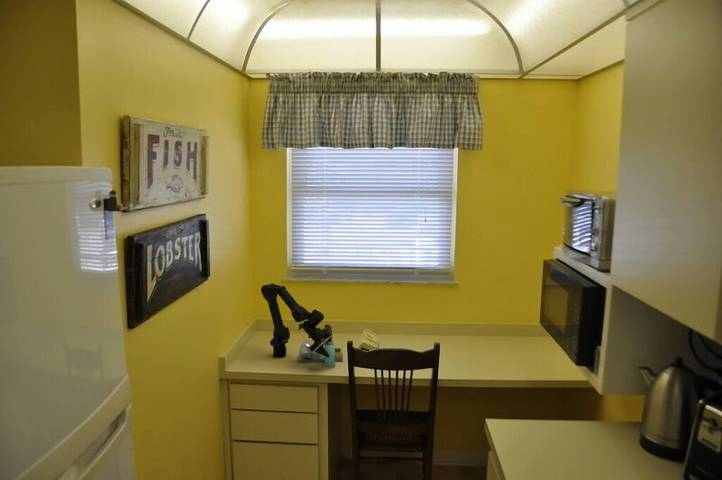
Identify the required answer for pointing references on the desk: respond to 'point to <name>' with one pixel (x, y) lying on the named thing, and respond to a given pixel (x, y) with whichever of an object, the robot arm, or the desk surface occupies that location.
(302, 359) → the motor assembly
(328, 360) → the teal cylinder grey dome
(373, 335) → the plastic component
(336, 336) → the desk surface
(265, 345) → the desk surface
